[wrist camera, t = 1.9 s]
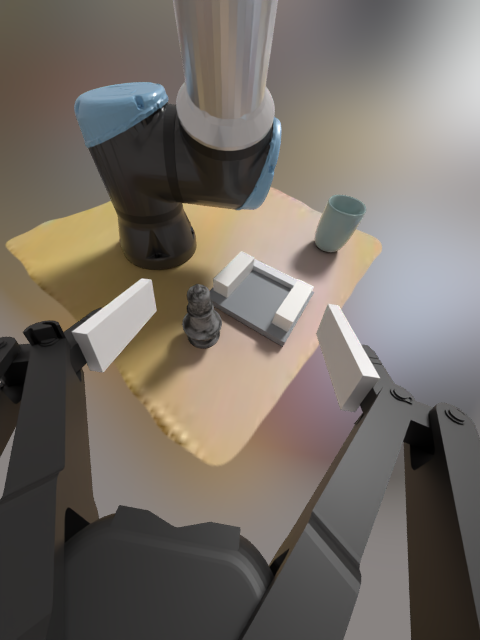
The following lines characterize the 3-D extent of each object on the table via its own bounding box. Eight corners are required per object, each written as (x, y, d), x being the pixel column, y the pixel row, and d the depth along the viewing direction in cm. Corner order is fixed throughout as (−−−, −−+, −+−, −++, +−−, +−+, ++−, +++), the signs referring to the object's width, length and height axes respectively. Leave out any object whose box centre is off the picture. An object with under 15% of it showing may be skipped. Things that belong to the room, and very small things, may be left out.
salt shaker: (228, 336, 34) (232, 288, 24) (199, 357, 32) (189, 313, 22) (208, 313, 36) (203, 260, 26) (178, 331, 34) (161, 279, 24)
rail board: (205, 301, 37) (203, 284, 34) (242, 262, 44) (244, 244, 40) (282, 346, 34) (290, 333, 30) (311, 297, 40) (320, 281, 36)
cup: (340, 260, 47) (367, 219, 39) (307, 251, 48) (326, 208, 40) (342, 241, 51) (367, 200, 43) (312, 233, 52) (330, 191, 44)
